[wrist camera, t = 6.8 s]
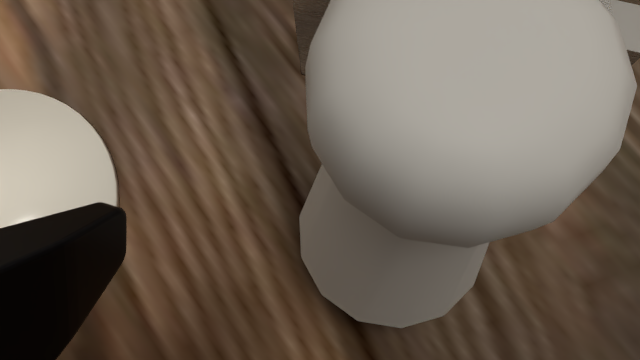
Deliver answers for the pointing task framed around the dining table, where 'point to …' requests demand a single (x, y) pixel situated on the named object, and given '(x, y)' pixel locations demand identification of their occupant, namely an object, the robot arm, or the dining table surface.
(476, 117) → the salt shaker
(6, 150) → the coaster
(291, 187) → the dining table surface
